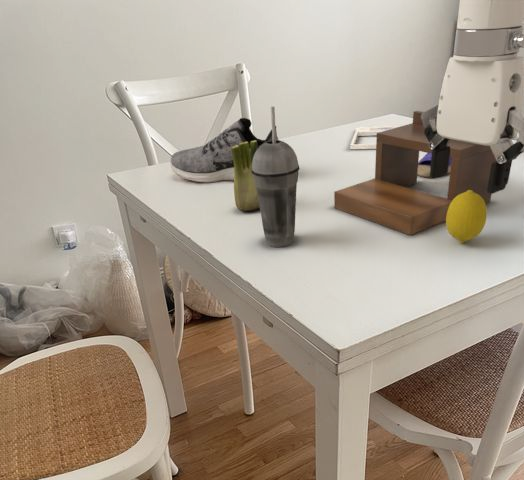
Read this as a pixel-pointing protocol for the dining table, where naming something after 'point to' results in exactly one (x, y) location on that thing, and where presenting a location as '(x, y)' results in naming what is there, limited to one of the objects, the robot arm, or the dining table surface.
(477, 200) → the lemon
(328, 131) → the dining table surface
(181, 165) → the athletic shoe
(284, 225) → the beverage cup
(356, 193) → the stand
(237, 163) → the fennel bulb
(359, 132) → the photo frame
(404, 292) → the dining table surface
